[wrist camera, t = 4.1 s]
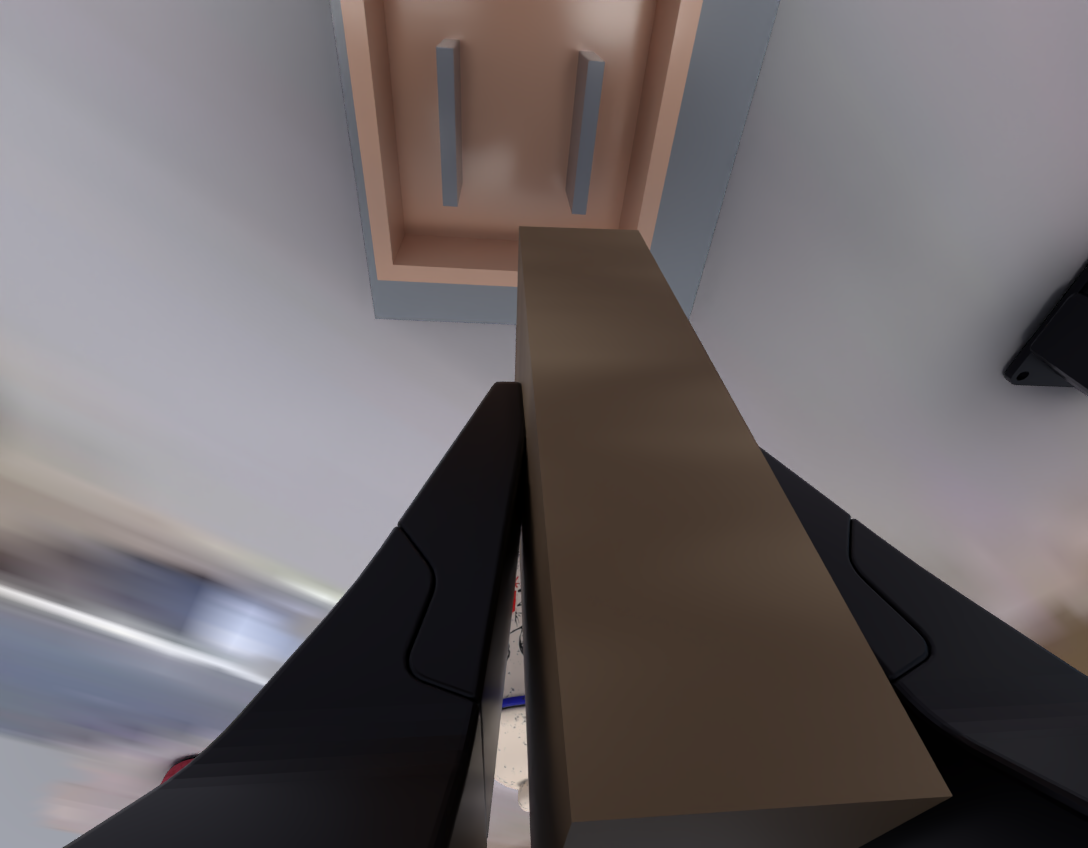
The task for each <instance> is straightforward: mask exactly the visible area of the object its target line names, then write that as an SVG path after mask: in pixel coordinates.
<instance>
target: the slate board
mask: <svg viewBox="0 0 1088 848" xmlns="http://www.w3.org/2000/svg"><path fill="white" fill-rule="evenodd" d="M779 3H780V0H703V3H702V8H701V13H700V17H699V22H698V27H697V31H696V36H695V41H694V45H693V50H692V55H691V60H690V64H689V69H688V74H687V78H686V83H685V88H684V93H683V97H682V102H681V107H680V111H679V116H678V121H677V125H676V130H675V135H674V140H673V144H672V149H671V154H670V158H669V163H668V168H667V172H666V177H665V182H664V187H663V191H662V196H661V201H660V205H659V210H658V215H657V220H656V224H655V229H654V234H653V238H652V243H651V248H650V252H651V254H652V255H653V257H654V259H655V261H656V263H657V264H658V266H659V268H660V270H661V272H662V273H663V275H664V277H665V279H666V281H667V282H668V284H669V286H670V288H671V290H672V291H673V293H674V295H675V297H676V299H677V300H678V302H679V304H680V306H681V308H682V309H683V311H684V313H685V315H686V317H687V318H688V320H689V318H690V314H691V311H692V307H693V304H694V300H695V297H696V293H697V290H698V286H699V283H700V279H701V276H702V272H703V269H704V265H705V262H706V258H707V255H708V251H709V248H710V244H711V241H712V237H713V234H714V230H715V227H716V223H717V220H718V216H719V213H720V209H721V206H722V202H723V199H724V196H725V192H726V189H727V185H728V182H729V178H730V175H731V171H732V168H733V164H734V161H735V157H736V154H737V150H738V147H739V143H740V140H741V136H742V133H743V129H744V126H745V122H746V119H747V115H748V112H749V108H750V105H751V101H752V98H753V94H754V91H755V87H756V84H757V80H758V77H759V73H760V70H761V66H762V63H763V59H764V56H765V52H766V49H767V45H768V42H769V38H770V35H771V31H772V28H773V24H774V21H775V17H776V14H777V10H778V7H779ZM330 7H331V14H332V21H333V28H334V35H335V42H336V49H337V56H338V63H339V70H340V77H341V84H342V91H343V98H344V105H345V112H346V119H347V126H348V133H349V139H350V146H351V153H352V160H353V167H354V174H355V181H356V188H357V195H358V202H359V209H360V216H361V223H362V230H363V237H364V244H365V251H366V258H367V265H368V272H369V279H370V286H371V293H372V300H373V307H374V313H375V319H393V320H417V321H440V322H464V323H488V324H511V325H516V321H517V287H509V286H489V285H468V284H448V283H427V282H407V281H386V280H377V272H376V265H375V257H374V250H373V242H372V235H371V227H370V220H369V212H368V205H367V198H366V190H365V183H364V175H363V168H362V160H361V153H360V145H359V138H358V130H357V123H356V115H355V108H354V100H353V93H352V85H351V78H350V70H349V63H348V55H347V48H346V40H345V33H344V25H343V18H342V10H341V3H340V0H330Z"/></svg>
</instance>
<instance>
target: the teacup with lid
mask: <svg viewBox="0 0 1088 848" xmlns="http://www.w3.org/2000/svg"><path fill="white" fill-rule="evenodd" d="M494 779H495V780H497V781H498V782H499V783H501V784H503V785H504V786H506V787H509V788H512V789H517V790H519V791H518V802H519V805H520V807H521V808H522V809H523V810H524V811H527V812H530V810H529V785H528V759H527V734H526V708H525V683H524V657H523V632H522V606H521V581H520V556H519V557H518V564H517V573H516V583H515V592H514V601H513V610H512V619H511V629H510V638H509V647H508V656H507V665H506V674H505V684H504V693H503V702H502V711H501V720H500V730H499V739H498V748H497V757H496V766H495V775H494Z"/></svg>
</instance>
